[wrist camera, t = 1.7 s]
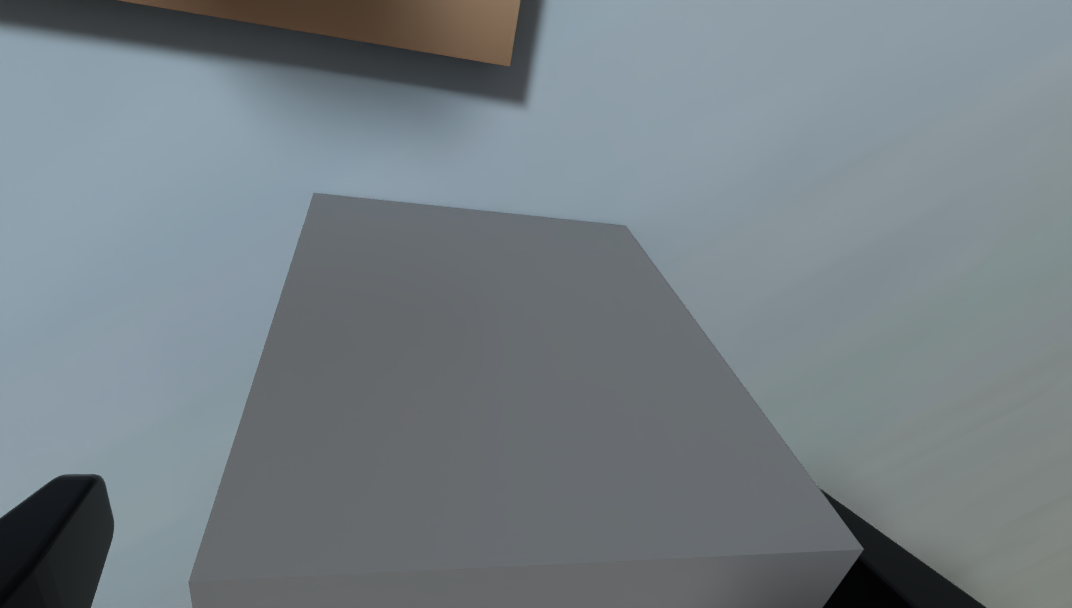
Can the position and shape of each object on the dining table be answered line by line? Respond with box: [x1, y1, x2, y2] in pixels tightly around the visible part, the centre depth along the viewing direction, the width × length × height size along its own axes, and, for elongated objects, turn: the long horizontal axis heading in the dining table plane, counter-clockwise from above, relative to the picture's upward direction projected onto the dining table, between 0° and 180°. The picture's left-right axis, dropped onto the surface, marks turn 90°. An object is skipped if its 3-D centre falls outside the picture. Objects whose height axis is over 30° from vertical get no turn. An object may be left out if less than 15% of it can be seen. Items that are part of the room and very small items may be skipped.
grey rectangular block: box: [189, 193, 864, 608], centre depth 9 cm, size 5×5×7 cm
